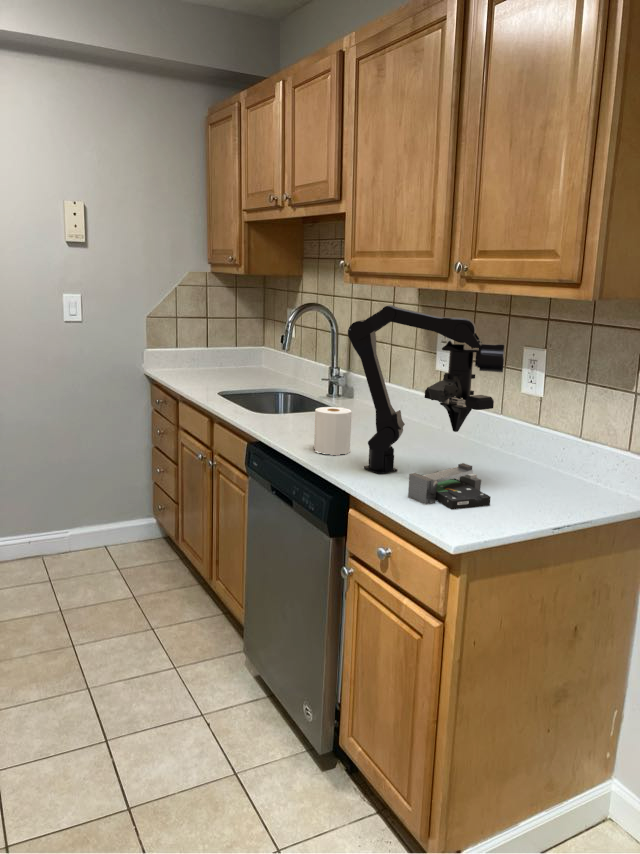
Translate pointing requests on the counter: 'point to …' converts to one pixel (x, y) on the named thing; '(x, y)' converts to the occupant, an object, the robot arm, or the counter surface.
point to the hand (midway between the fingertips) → (455, 431)
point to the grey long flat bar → (451, 473)
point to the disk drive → (460, 495)
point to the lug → (471, 481)
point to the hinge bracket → (422, 488)
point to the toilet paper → (332, 430)
